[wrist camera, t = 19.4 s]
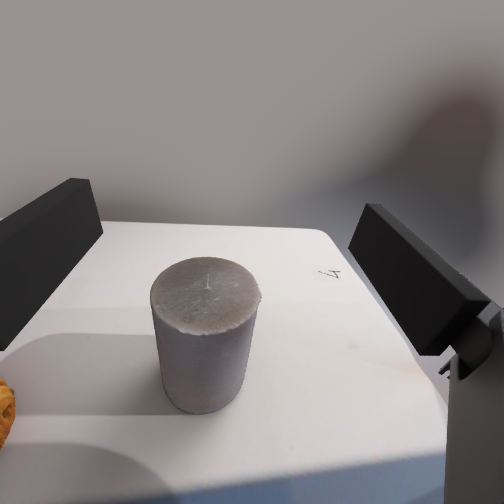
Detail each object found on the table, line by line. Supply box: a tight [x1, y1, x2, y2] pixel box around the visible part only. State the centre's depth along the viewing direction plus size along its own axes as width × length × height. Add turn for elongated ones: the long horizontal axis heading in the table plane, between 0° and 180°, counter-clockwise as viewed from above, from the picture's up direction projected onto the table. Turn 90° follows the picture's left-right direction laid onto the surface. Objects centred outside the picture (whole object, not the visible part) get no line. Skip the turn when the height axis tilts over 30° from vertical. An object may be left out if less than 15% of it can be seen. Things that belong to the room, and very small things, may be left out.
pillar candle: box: [150, 257, 262, 414], centre depth 25 cm, size 10×10×15 cm
